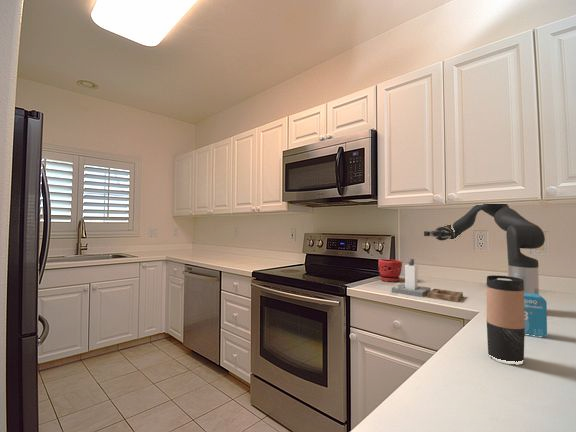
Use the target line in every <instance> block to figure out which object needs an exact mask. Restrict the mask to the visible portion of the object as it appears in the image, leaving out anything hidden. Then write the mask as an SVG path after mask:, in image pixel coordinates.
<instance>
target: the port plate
mask: <svg viewBox="0 0 576 432" xmlns="http://www.w3.org/2000/svg"><path fill="white" fill-rule="evenodd" d="M431 290H432V289H431V286H430V287H428V286H422V285H420V286H419V285H418V289H417V290H413V289H406V288H405V283H400V284H398V285H396V286H394V287H391V293H395V294H401V295H406V296H407V295H408V296H413V297H419V298H423V297H425V296H426V295H427V293H428V292H430V291H431Z"/></svg>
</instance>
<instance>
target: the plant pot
mask: <svg viewBox="0 0 576 432" xmlns="http://www.w3.org/2000/svg"><path fill="white" fill-rule="evenodd" d="M377 264H378V273H379V274H380V275H379V276H378V278H379V279H380V280H381V281H384V282H392V283H393V282H394V283H395V282H398V281H400V280H401V278H400V275H401V273H402V267H403V261H402V260H399V259H386V258H384V259H383V258H380V259H378V263H377Z"/></svg>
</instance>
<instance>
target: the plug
mask: <svg viewBox="0 0 576 432" xmlns="http://www.w3.org/2000/svg"><path fill="white" fill-rule="evenodd" d="M404 278H405V279H404V284H405V288H406V289H413V290H417V289H418V286H419V285H418V282H419V281H418V265H416V264H415V259H414V258H408V264H405V265H404Z"/></svg>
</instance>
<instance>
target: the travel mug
mask: <svg viewBox="0 0 576 432" xmlns="http://www.w3.org/2000/svg"><path fill="white" fill-rule="evenodd" d="M486 334H487V335H486V336H487V354H489V355H491V356H493V357H495V358H497V359H501V360H506V361H515V362H516V361H517V362H518V361H522V360H524V359H525V336H526V335H525V318H524V281H523V279H520V278H516V277H509V276H508V275H494V274H493V275H487V276H486ZM489 355H488V356H489Z"/></svg>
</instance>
